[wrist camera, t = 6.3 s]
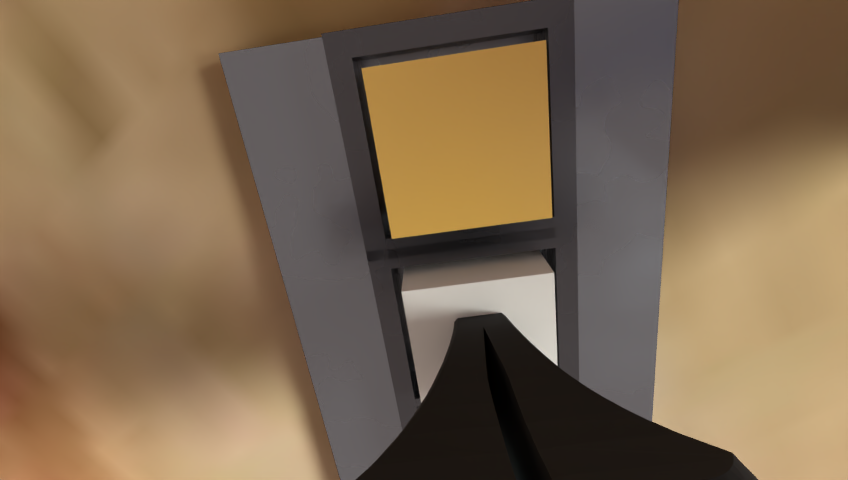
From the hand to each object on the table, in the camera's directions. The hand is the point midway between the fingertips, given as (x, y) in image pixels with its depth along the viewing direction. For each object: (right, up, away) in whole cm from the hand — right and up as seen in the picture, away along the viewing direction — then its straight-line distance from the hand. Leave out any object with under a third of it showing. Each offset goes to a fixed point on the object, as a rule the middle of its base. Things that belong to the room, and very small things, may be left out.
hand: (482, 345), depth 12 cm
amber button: (-1, +6, 0) cm, 6 cm away
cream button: (0, +1, +2) cm, 2 cm away
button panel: (0, +1, +3) cm, 3 cm away
